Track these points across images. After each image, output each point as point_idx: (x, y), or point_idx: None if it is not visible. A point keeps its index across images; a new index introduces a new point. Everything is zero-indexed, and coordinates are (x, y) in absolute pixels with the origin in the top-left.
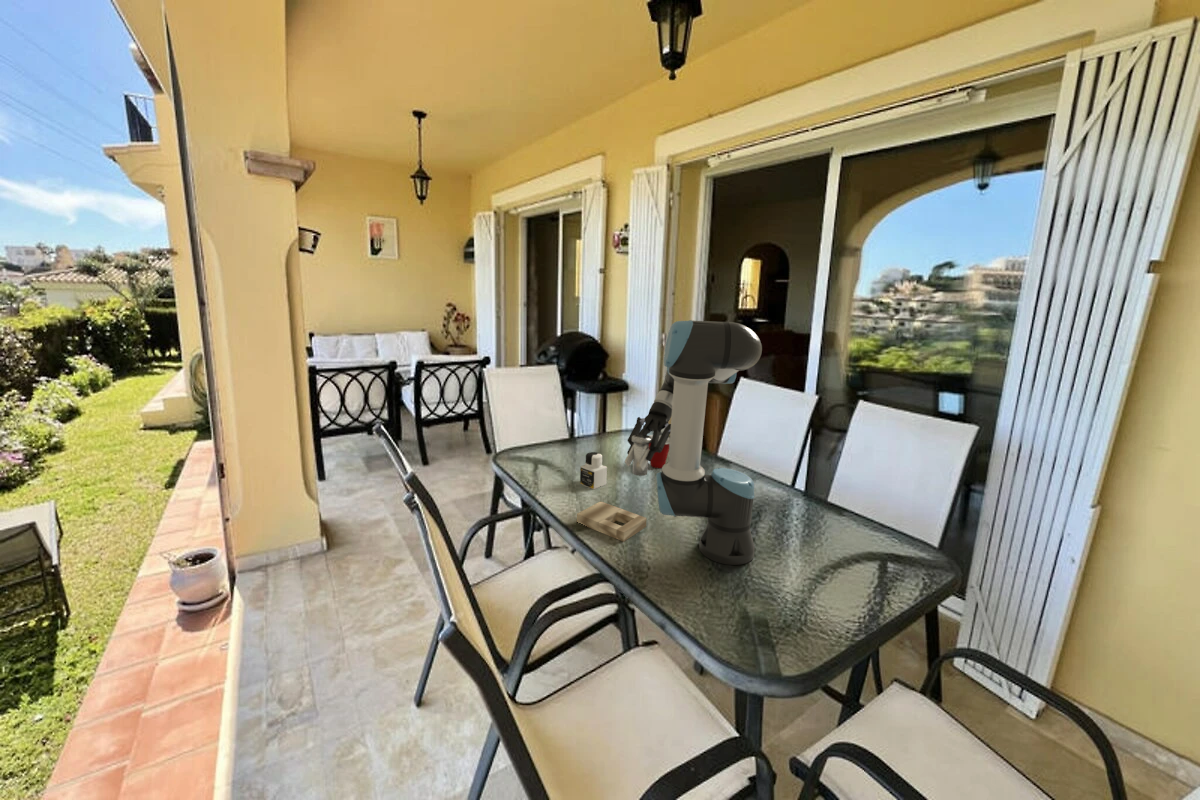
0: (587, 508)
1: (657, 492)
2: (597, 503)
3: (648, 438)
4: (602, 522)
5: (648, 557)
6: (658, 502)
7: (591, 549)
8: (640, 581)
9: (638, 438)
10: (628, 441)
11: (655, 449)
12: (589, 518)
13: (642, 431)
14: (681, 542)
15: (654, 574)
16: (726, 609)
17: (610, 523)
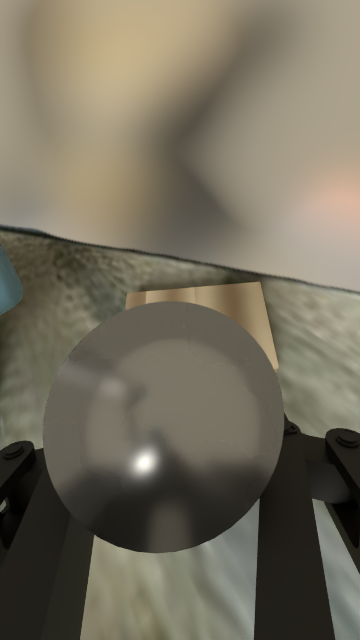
0: (265, 313)
1: (11, 272)
2: (272, 351)
3: (76, 426)
4: (188, 292)
5: (71, 297)
6: (8, 261)
7: (163, 256)
8: (58, 250)
9: (166, 345)
10: (338, 430)
11: (42, 451)
12: (221, 285)
13: (284, 620)
14: (30, 381)
15: (46, 272)
16: None
17: (172, 299)
